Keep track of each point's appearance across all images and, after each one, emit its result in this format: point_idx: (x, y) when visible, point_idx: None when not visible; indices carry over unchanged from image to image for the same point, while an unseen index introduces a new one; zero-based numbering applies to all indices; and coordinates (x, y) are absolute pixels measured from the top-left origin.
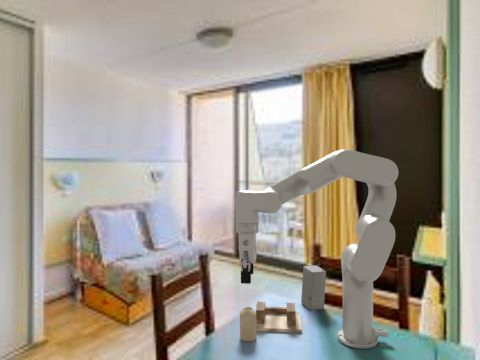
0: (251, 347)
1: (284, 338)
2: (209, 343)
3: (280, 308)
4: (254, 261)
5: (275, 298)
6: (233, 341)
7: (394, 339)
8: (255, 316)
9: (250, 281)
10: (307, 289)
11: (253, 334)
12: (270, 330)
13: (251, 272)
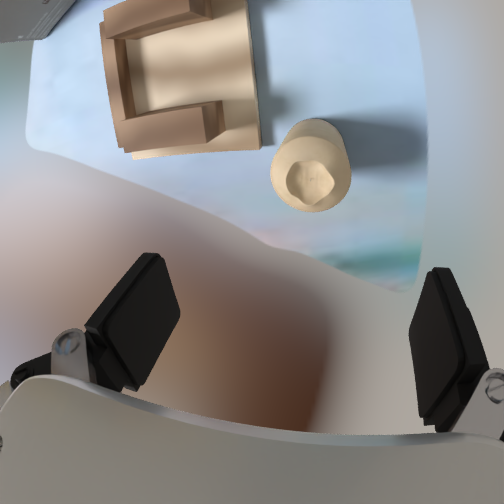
0: (380, 132)
1: (298, 22)
2: (358, 258)
3: (115, 65)
4: (501, 470)
5: (36, 119)
6: None
7: None
8: (325, 137)
9: (453, 279)
10: (19, 12)
11: (336, 131)
12: (254, 73)
13: (158, 274)
